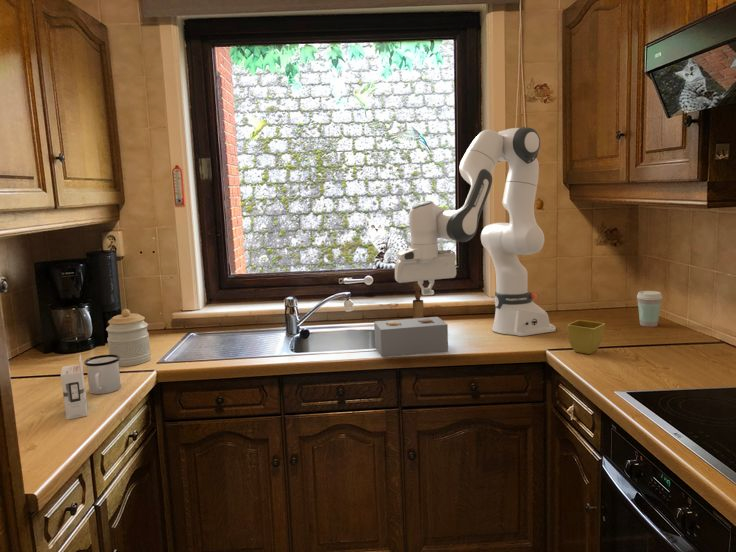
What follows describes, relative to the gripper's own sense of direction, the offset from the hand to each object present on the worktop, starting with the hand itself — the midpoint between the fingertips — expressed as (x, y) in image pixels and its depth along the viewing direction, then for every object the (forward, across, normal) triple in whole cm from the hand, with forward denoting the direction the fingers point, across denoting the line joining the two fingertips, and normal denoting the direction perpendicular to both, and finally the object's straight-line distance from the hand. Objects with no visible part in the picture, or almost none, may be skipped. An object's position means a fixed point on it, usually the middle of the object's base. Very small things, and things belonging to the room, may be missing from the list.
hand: (426, 293), depth 203 cm
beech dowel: (+17, +12, 0) cm, 21 cm away
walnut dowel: (+18, +1, 0) cm, 18 cm away
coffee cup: (+21, -84, -6) cm, 86 cm away
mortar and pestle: (+19, -3, -26) cm, 32 cm away
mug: (+16, +99, +16) cm, 102 cm away
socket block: (+18, +6, 0) cm, 19 cm away
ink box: (+15, +102, +33) cm, 108 cm away
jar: (+16, +98, -14) cm, 101 cm away
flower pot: (+20, -46, +19) cm, 53 cm away
